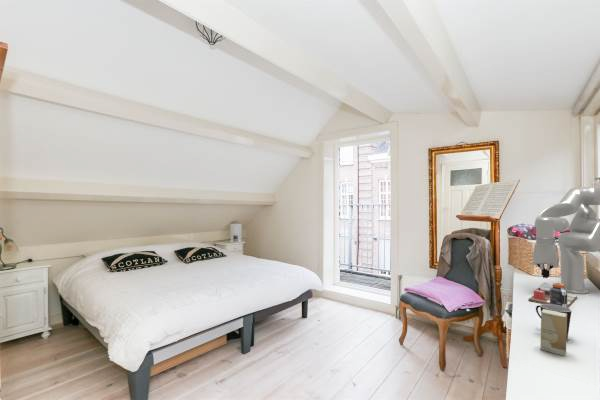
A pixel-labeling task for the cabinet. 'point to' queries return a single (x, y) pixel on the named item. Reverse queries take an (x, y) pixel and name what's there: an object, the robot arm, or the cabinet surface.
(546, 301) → the game board
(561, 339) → the skincare box
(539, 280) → the cabinet surface
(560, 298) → the pill bottle
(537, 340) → the cabinet surface
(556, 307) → the coffee mug
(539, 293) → the red die
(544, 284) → the dome
